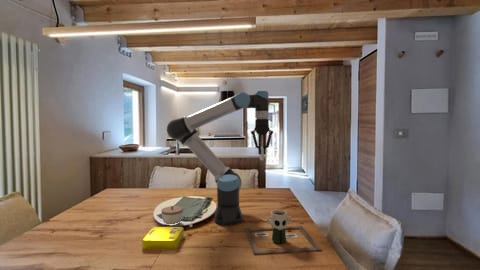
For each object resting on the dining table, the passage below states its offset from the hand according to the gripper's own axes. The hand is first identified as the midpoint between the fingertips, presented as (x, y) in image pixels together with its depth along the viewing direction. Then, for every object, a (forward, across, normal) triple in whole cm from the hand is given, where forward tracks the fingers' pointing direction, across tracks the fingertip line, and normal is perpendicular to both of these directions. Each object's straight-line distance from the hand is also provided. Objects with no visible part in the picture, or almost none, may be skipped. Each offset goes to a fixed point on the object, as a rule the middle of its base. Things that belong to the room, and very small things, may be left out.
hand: (262, 160), depth 158 cm
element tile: (+31, -50, -32) cm, 67 cm away
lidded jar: (+31, -49, -11) cm, 59 cm away
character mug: (+31, 0, -38) cm, 49 cm away
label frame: (+30, +2, -36) cm, 47 cm away
